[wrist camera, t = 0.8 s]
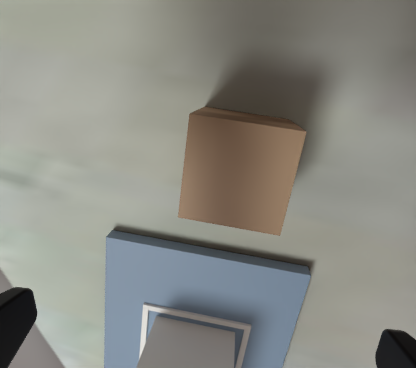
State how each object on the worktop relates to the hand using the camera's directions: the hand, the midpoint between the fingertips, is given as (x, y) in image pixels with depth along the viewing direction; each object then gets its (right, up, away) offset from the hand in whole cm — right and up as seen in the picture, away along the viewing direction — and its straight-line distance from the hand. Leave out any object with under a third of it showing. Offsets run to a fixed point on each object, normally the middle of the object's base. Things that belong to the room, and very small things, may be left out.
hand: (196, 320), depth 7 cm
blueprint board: (-1, -9, +16) cm, 18 cm away
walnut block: (+2, +5, +10) cm, 12 cm away
